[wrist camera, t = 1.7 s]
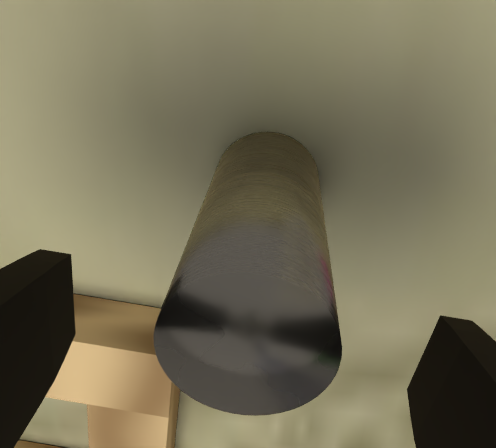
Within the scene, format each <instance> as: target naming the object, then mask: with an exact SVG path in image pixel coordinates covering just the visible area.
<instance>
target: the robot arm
mask: <svg viewBox="0 0 496 448" xmlns="http://www.w3.org/2000/svg"><path fill="white" fill-rule="evenodd" d="M75 334H76V330H75V314H74V297H73V280H72V263H71V254H66V253H59V252H53V251H47V250H41V249H40V250H37V251H35V252H33V253H31V254H29V255H27V256H25V257H23V258H21V259H19V260H17V261H15V262H13V263H11V264H9V265H7V266H5V267H3V268H2V269H0V448H14V447H15V445H16V443H17V442H18V440H19V439H20V437H21V435H22V434H23V432H24V430H25V429H26V427H27V426H28V424H29V422H30V421H31V419H32V417H33V416H34V414H35V412H36V411H37V409H38V408H39V406H40V404H41V403H42V401H43V399H44V398H45V396H46V394H47V393H48V391H49V389H50V388H51V386H52V384H53V383H54V381H55V379H56V377H57V375H58V372H59V370H60V368H61V366H62V364H63V362H64V360H65V357H66V355H67V353H68V350H69V348H70V346H71V344H72V341H73V339H74V337H75ZM407 392H408V400H409V407H410V415H411V422H412V428H413V434H414V441H415V444H416V448H496V342H495V341H494V340H493V339H492V338H491V337H490V336H489V335H488V334H487V333H486V332H485V331H483V330H482V329H481V328H480V327H479V326H478V325H476V324H475V323H474V322H473V321H470V320H464V319H458V318H452V317H446V316H440V318H439V320H438V322H437V324H436V326H435V329H434V331H433V333H432V335H431V338H430V340H429V342H428V344H427V346H426V349H425V351H424V353H423V355H422V357H421V360H420V362H419V364H418V366H417V368H416V371H415V373H414V375H413V377H412V380H411V382H410V384H409V386H408V388H407Z"/></svg>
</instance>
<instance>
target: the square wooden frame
mask: <svg viewBox="0 0 496 448" xmlns="http://www.w3.org/2000/svg"><path fill="white" fill-rule="evenodd" d="M73 297H74V314H75V330H76V334H75V337H74V339H73V341H72V344H71V346H70V348H69V350H68V353H67V355H66V357H65V360H64V362H63V364H62V366H61V368H60V370H59V372H58V375H57V377H56V379H55V381H54V383H53V384H52V386H51V388H50V389H49V391H48V393H47V394H46V396H45V397H48V398H54V399H60V400H66V401H72V402H78V403H84V404H87V413H88V435H89V448H174V446H175V435H176V425H177V415H178V405H179V395H180V389H179V388H178V387H177V386H176V385H175V384H174V383H173V382H172V381H171V380H170V379H169V378H168V376H167V375H166V374H165V372H164V371H163V369H162V367H161V366H160V364H159V362H158V359H157V356H156V353H155V348H154V328H155V324H156V321H157V318H158V316H159V313H160V310H161V308H155V307H149V306H143V305H137V304H131V303H125V302H119V301H113V300H107V299H101V298H95V297H89V296H83V295H77V294H73ZM14 448H62V447H56V446H51V445H45V444H39V443H33V442H27V441H21V440H18V442H17V443H16V445H15V447H14Z"/></svg>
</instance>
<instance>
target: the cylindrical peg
mask: <svg viewBox="0 0 496 448" xmlns="http://www.w3.org/2000/svg"><path fill="white" fill-rule="evenodd" d="M154 348H155V353H156V356H157V359H158V362H159V364H160V366H161V367H162V369H163V371H164V372H165V374H166V375H167V376H168V378H169V379H170V380H171V381H172V382H173V383H174V384H175V385H176V386H177V387H178V388H179V389H180V390H181V391H183V392H184V393H185V394H187V395H188V396H190V397H191V398H193V399H195V400H196V401H198V402H200V403H202V404H204V405H207V406H209V407H212V408H214V409H218V410H221V411H224V412H229V413H234V414H241V415H270V414H276V413H281V412H285V411H289V410H292V409H295V408H297V407H300V406H302V405H304V404H306V403H308V402H309V401H311V400H313V399H314V398H316V397H317V396H318V395H319V394H321V393H322V392H323V391H324V390H325V389H326V388H327V387H328V385H329V384H330V383H331V382H332V380H333V379H334V377H335V375H336V373H337V371H338V368H339V366H340V361H341V356H342V345H341V337H340V329H339V322H338V315H337V307H336V300H335V293H334V286H333V278H332V271H331V264H330V256H329V249H328V242H327V234H326V227H325V220H324V212H323V205H322V198H321V190H320V183H319V176H318V170H317V166H316V164H315V161H314V159H313V158H312V156H311V154H310V153H309V152H308V150H307V149H306V148H305V147H304V146H303V145H302V144H300V143H299V142H298V141H296V140H295V139H293V138H291V137H289V136H286V135H283V134H280V133H275V132H259V133H253V134H250V135H247V136H245V137H242V138H241V139H239V140H237V141H236V142H234V143H233V144H232V145H231V146H230V147H229V148H228V149H227V150H226V151H225V153H224V154H223V155H222V157H221V159H220V161H219V164H218V166H217V169H216V171H215V174H214V176H213V179H212V181H211V184H210V186H209V189H208V192H207V194H206V197H205V199H204V202H203V204H202V207H201V209H200V212H199V214H198V217H197V219H196V222H195V224H194V227H193V229H192V232H191V235H190V237H189V240H188V242H187V245H186V247H185V250H184V252H183V255H182V257H181V260H180V262H179V265H178V267H177V270H176V273H175V275H174V278H173V280H172V283H171V285H170V288H169V290H168V293H167V295H166V298H165V300H164V303H163V305H162V308H161V310H160V313H159V316H158V318H157V321H156V324H155V328H154Z"/></svg>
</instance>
